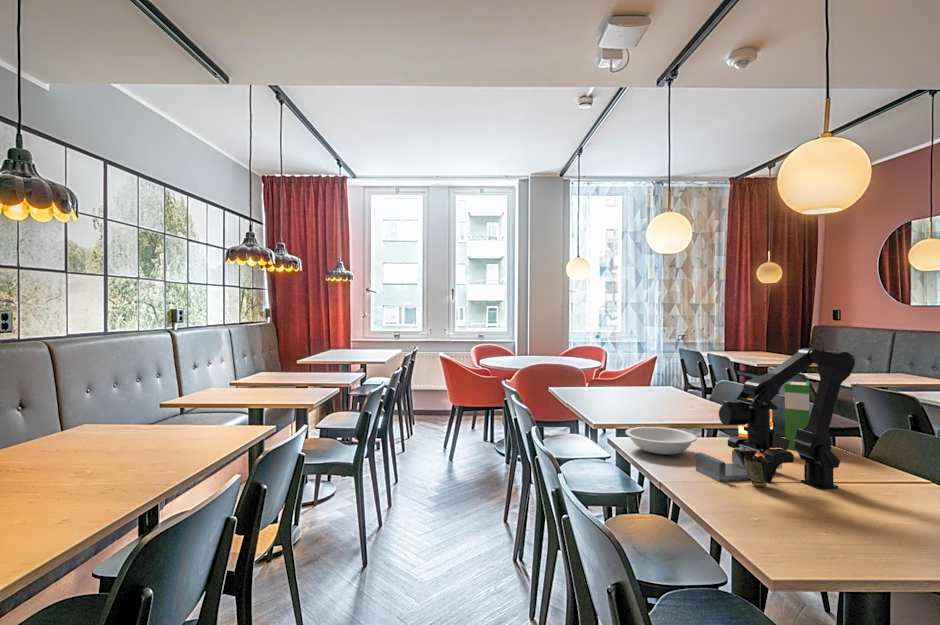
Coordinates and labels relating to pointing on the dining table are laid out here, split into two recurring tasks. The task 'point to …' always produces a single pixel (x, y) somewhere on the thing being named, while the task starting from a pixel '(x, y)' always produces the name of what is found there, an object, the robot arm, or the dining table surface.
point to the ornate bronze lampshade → (755, 471)
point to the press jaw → (737, 461)
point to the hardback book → (796, 409)
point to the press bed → (729, 473)
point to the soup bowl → (661, 439)
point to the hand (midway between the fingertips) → (759, 479)
